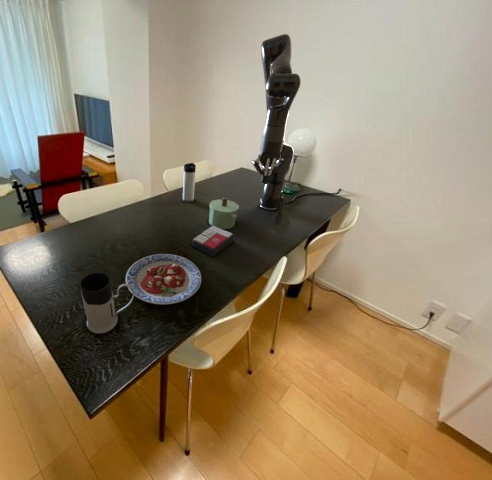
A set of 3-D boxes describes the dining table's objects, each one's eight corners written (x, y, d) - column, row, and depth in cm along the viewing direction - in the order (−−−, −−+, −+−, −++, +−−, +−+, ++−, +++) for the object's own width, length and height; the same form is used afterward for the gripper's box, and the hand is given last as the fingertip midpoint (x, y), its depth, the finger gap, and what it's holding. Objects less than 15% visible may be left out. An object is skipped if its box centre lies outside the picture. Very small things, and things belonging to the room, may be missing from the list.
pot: (222, 212, 137) (224, 197, 132) (243, 228, 123) (246, 212, 119) (201, 216, 132) (202, 201, 128) (220, 233, 119) (223, 217, 114)
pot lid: (227, 199, 131) (229, 190, 129) (244, 211, 121) (246, 201, 118) (204, 204, 126) (204, 194, 124) (219, 216, 116) (220, 206, 113)
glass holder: (90, 309, 80) (82, 271, 72) (137, 308, 81) (134, 270, 73) (83, 333, 73) (73, 294, 64) (135, 332, 73) (131, 292, 65)
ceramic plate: (133, 257, 103) (132, 250, 101) (199, 259, 102) (199, 253, 101) (118, 307, 81) (117, 300, 79) (202, 310, 80) (203, 303, 79)
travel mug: (195, 198, 151) (197, 163, 140) (191, 202, 146) (193, 167, 135) (185, 196, 153) (187, 162, 142) (180, 200, 148) (182, 165, 137)
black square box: (191, 238, 108) (212, 223, 117) (191, 247, 110) (212, 232, 120) (214, 249, 102) (234, 232, 111) (213, 257, 104) (233, 241, 114)
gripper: (260, 141, 92) (252, 188, 101) (295, 139, 94) (284, 186, 103) (251, 137, 98) (244, 181, 107) (283, 135, 100) (274, 179, 109)
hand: (264, 183), depth 105 cm, fingers closed
